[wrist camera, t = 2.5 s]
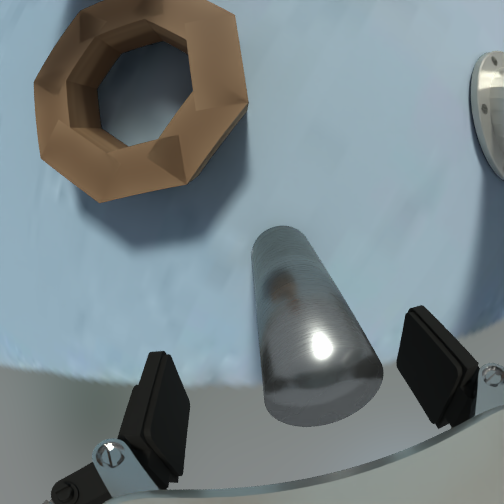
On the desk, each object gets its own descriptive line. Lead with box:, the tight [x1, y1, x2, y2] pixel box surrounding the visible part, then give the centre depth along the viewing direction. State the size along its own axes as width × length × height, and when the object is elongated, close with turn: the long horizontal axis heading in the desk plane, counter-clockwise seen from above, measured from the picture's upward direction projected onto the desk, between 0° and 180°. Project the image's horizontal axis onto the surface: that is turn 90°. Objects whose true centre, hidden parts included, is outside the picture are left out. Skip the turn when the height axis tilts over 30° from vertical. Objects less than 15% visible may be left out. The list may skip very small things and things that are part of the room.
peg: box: [252, 226, 383, 427], centre depth 14 cm, size 4×4×12 cm
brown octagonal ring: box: [34, 0, 249, 203], centre depth 13 cm, size 12×12×4 cm
